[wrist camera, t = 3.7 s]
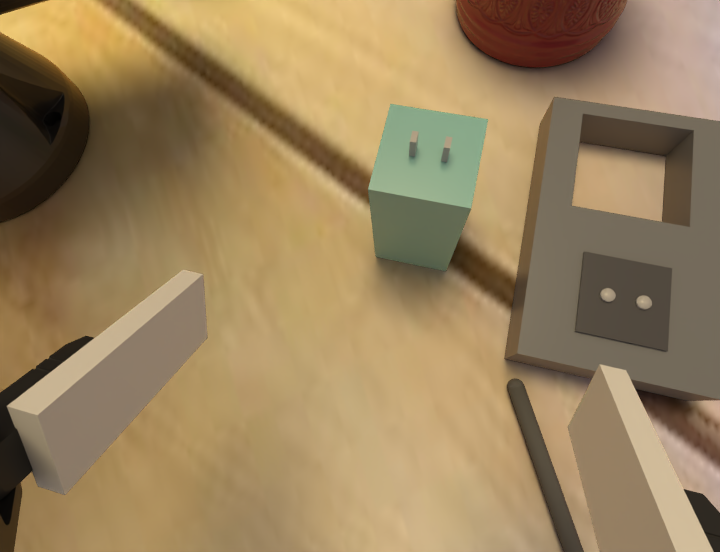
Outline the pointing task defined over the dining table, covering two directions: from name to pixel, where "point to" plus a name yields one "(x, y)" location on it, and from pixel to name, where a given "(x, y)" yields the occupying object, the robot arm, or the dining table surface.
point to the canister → (537, 28)
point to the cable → (544, 467)
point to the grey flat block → (623, 257)
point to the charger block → (424, 184)
